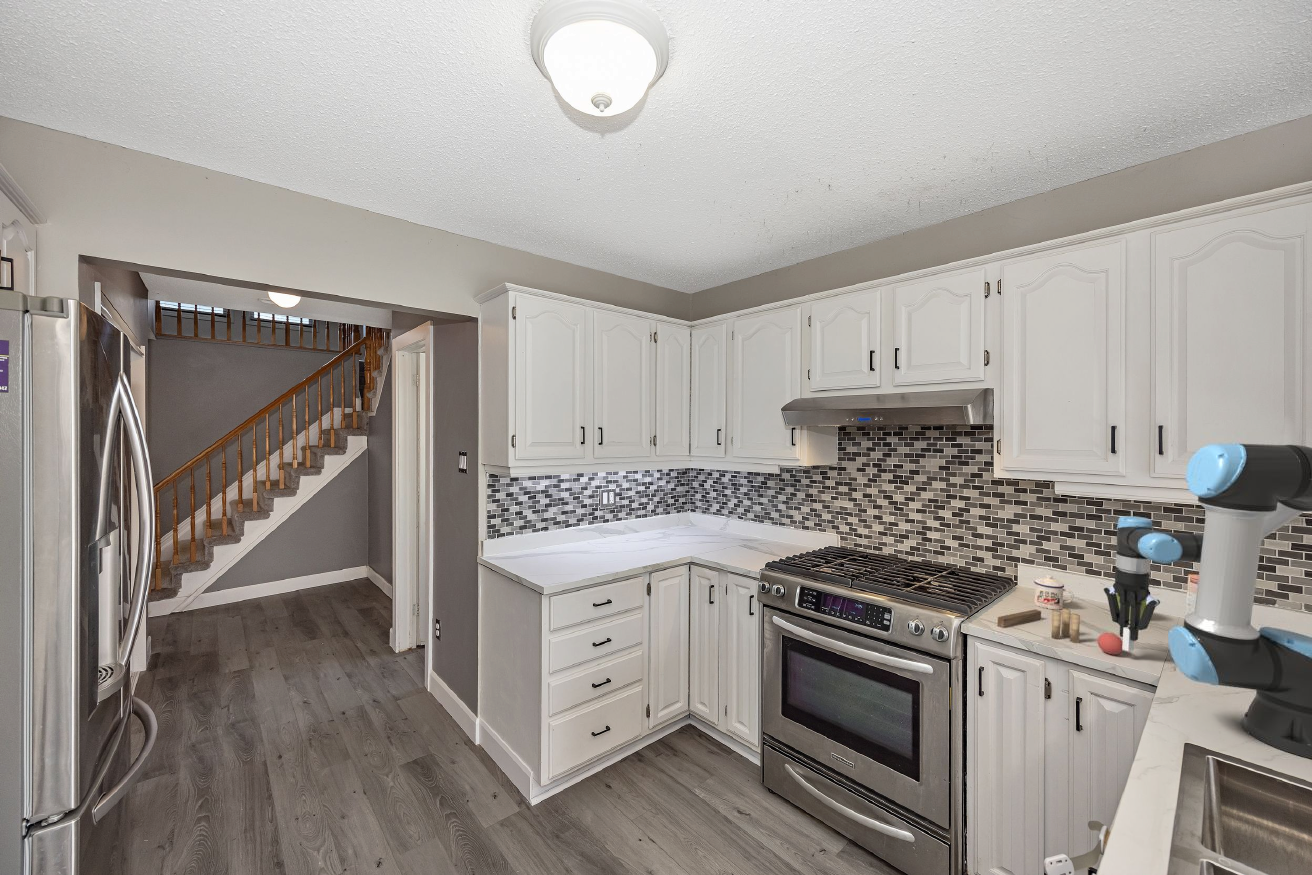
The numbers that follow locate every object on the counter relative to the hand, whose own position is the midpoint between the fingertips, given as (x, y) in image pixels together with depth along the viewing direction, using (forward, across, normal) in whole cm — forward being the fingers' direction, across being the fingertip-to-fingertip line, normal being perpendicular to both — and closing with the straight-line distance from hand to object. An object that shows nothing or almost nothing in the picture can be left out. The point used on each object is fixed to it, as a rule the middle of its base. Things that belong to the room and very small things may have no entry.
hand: (1128, 649), depth 157 cm
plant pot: (+4, +19, -40) cm, 45 cm away
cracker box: (+4, -3, -41) cm, 41 cm away
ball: (0, +4, +1) cm, 4 cm away
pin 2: (+3, +18, -1) cm, 18 cm away
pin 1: (+3, +17, +4) cm, 18 cm away
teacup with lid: (+4, +37, -27) cm, 45 cm away
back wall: (+3, +30, +2) cm, 31 cm away
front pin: (+3, +14, +1) cm, 14 cm away
